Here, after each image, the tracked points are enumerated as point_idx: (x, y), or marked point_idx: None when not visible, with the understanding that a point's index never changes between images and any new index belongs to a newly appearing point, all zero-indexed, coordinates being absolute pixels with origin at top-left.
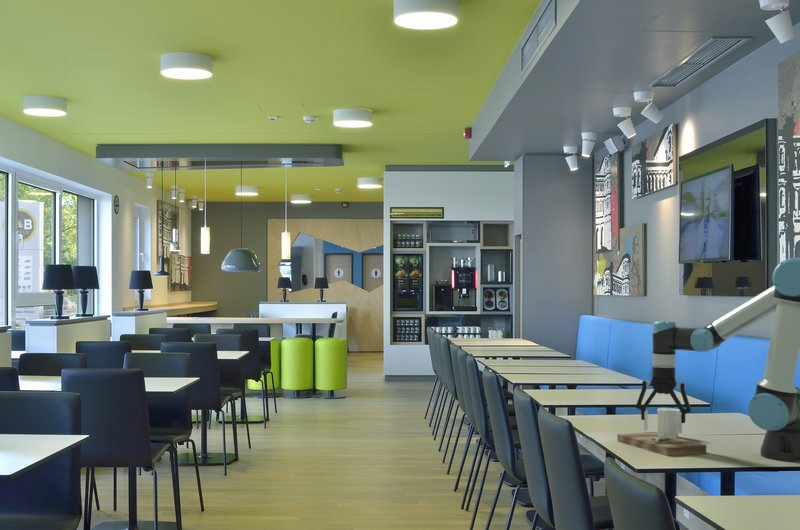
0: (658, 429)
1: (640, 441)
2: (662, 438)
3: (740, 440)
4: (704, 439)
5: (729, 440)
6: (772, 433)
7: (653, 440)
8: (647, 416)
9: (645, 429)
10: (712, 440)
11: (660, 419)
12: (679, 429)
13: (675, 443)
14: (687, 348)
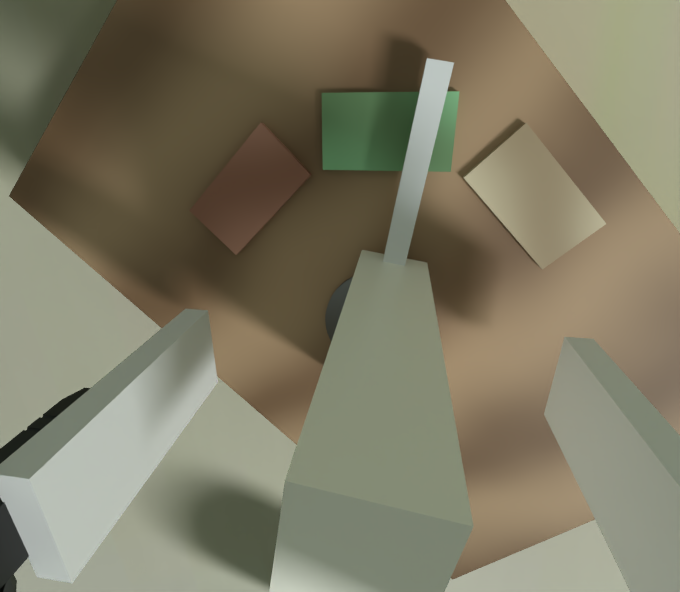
0: (422, 298)
1: (612, 149)
2: (377, 255)
3: (54, 588)
4: (190, 576)
5: (90, 579)
6: None
7: (468, 182)
8: (624, 539)
9: (582, 344)
10: (152, 564)
11: (396, 365)
12: (181, 328)
13: (245, 145)
14: None
